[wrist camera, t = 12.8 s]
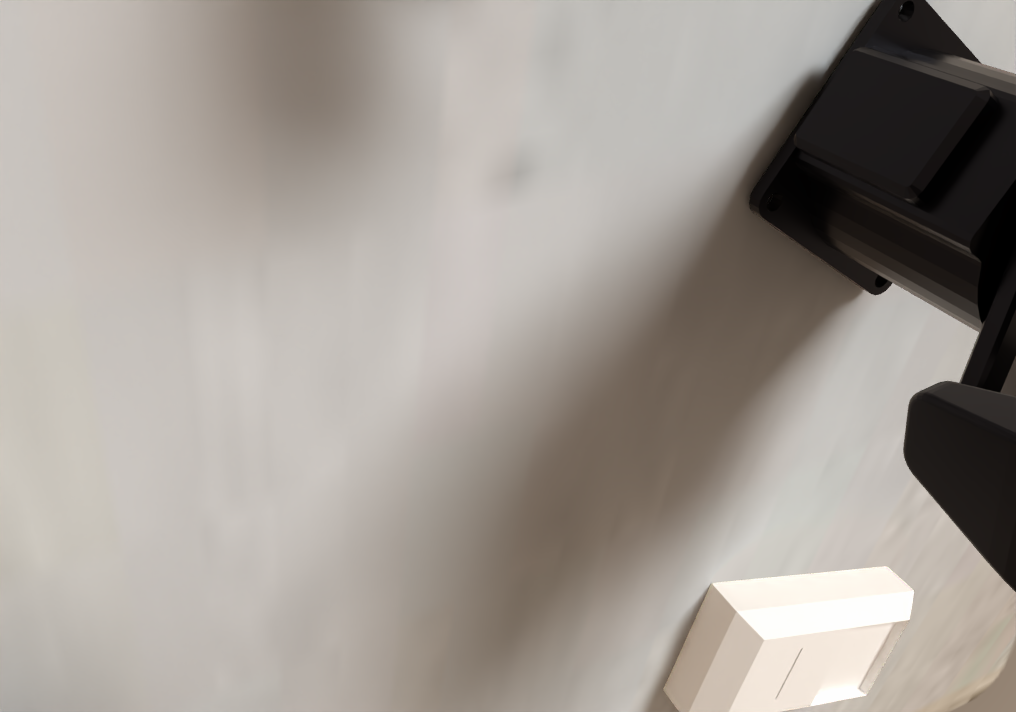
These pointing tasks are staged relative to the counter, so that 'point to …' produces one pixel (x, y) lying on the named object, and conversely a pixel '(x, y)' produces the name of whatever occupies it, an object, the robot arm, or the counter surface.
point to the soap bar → (789, 641)
